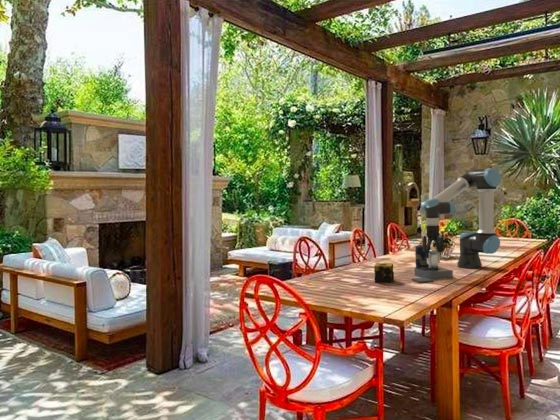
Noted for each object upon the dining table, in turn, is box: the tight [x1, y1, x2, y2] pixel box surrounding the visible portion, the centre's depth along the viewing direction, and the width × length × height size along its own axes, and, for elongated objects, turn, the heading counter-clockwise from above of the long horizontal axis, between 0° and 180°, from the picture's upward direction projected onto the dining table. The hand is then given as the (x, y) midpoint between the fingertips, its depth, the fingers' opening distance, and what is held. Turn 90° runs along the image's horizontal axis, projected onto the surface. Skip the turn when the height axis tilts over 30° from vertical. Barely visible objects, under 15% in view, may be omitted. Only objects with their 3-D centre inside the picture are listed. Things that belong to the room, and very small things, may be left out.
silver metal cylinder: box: [429, 249, 439, 270], centre depth 289 cm, size 6×6×13 cm
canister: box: [414, 243, 432, 268], centre depth 304 cm, size 10×10×18 cm
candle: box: [373, 262, 395, 284], centre depth 279 cm, size 10×10×10 cm
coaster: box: [411, 277, 435, 284], centre depth 276 cm, size 9×9×1 cm
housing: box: [414, 266, 454, 280], centre depth 289 cm, size 16×16×4 cm
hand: (433, 263), depth 289 cm, fingers closed on silver metal cylinder, 6 cm apart
